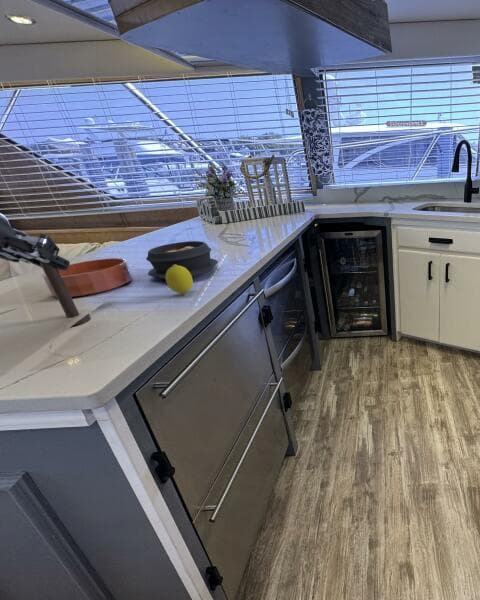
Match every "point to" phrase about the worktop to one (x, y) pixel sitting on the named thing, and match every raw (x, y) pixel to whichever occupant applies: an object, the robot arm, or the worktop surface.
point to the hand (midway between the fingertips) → (60, 266)
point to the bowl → (93, 276)
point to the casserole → (181, 258)
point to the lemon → (179, 279)
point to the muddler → (62, 292)
